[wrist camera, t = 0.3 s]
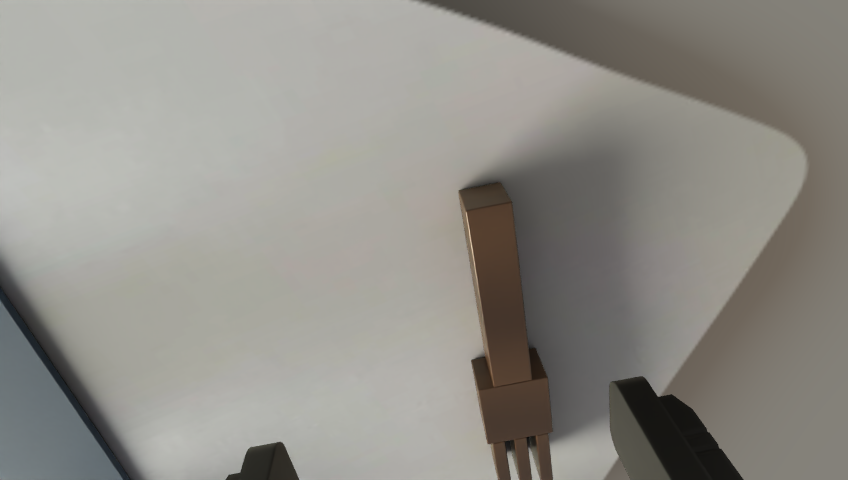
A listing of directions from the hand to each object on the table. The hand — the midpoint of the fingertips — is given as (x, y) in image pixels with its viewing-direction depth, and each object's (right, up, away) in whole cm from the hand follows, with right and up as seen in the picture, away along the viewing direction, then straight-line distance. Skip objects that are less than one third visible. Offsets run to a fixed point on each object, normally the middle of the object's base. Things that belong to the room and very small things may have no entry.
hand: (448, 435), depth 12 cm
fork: (+3, 0, +15) cm, 15 cm away
